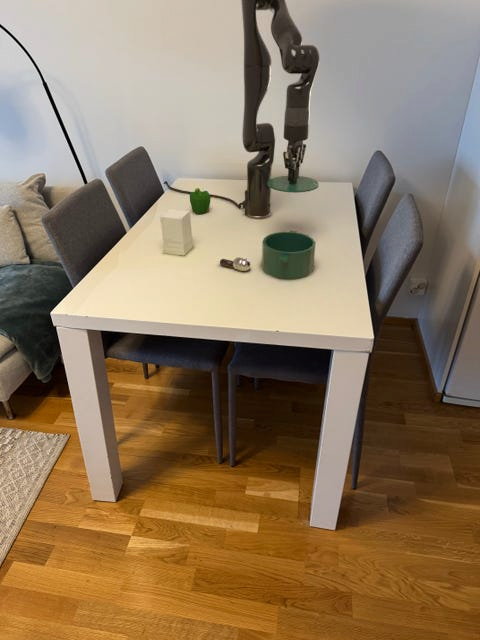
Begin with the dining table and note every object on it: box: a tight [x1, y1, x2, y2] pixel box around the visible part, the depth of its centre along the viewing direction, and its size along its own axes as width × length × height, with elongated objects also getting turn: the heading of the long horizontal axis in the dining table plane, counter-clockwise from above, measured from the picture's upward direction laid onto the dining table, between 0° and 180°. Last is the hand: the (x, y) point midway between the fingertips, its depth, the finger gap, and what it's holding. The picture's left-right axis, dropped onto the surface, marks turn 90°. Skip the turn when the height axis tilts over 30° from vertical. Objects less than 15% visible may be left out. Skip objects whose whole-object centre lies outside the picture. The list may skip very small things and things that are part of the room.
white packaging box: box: [159, 208, 194, 256], centre depth 145 cm, size 7×7×13 cm
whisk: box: [219, 256, 251, 272], centre depth 136 cm, size 10×4×4 cm, turn 62°
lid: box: [268, 167, 320, 194], centre depth 144 cm, size 17×17×6 cm
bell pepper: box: [189, 187, 211, 215], centre depth 176 cm, size 8×8×10 cm
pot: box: [261, 230, 317, 280], centre depth 135 cm, size 16×21×8 cm
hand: (293, 179), depth 145 cm, fingers closed on lid, 2 cm apart
